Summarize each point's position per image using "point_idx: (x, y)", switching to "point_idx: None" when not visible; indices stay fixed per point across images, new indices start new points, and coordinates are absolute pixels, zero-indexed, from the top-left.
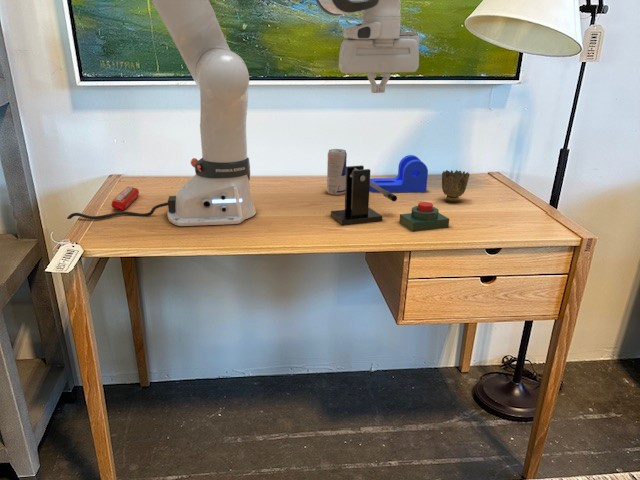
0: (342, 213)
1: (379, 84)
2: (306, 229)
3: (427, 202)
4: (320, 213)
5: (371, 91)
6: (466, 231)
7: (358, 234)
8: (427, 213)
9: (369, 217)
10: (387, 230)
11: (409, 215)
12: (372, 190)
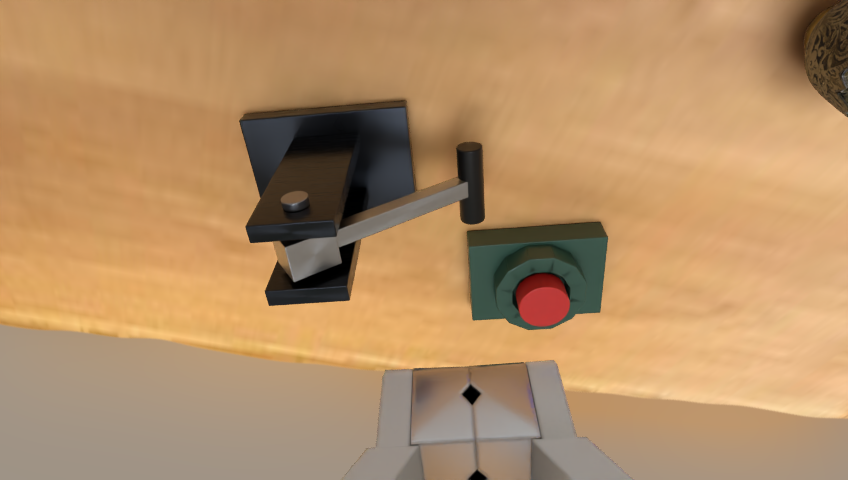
0: (281, 157)
1: (522, 445)
2: (152, 225)
3: (560, 295)
4: (207, 72)
5: (385, 372)
6: (621, 329)
7: None
8: (525, 328)
9: None
10: (403, 281)
11: (494, 263)
12: None
